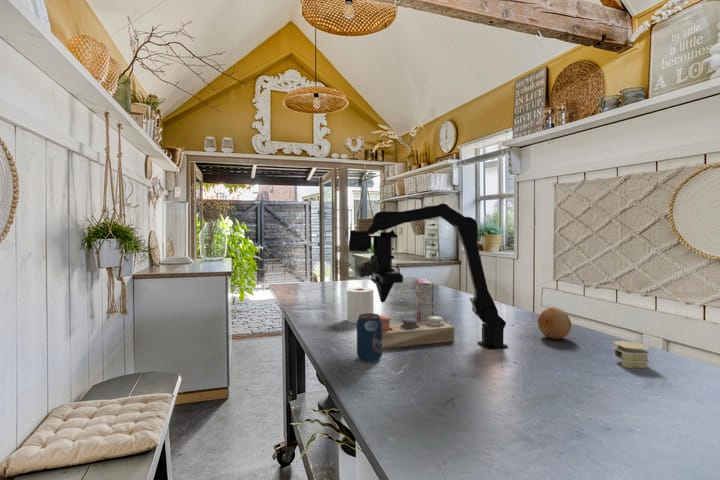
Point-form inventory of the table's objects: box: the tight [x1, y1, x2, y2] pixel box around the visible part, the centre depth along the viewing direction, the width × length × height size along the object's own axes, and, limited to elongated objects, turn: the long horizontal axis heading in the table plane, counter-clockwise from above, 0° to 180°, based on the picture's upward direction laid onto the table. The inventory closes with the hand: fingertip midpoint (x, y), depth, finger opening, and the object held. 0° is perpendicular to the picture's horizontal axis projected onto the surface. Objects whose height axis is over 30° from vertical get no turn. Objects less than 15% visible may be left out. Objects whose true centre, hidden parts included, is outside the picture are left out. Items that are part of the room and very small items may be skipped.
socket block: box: [382, 320, 455, 350], centre depth 124 cm, size 10×26×4 cm, turn 107°
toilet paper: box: [346, 287, 374, 324], centre depth 151 cm, size 10×10×12 cm
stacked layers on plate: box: [612, 340, 651, 369], centre depth 101 cm, size 10×9×6 cm
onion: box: [537, 306, 572, 340], centre depth 125 cm, size 10×10×10 cm
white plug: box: [428, 315, 443, 326], centre depth 127 cm, size 5×5×6 cm
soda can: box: [356, 313, 383, 363], centre depth 108 cm, size 7×7×12 cm
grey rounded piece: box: [401, 317, 417, 329], centre depth 124 cm, size 5×5×6 cm
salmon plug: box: [379, 315, 392, 331], centre depth 122 cm, size 5×5×6 cm
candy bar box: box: [415, 278, 434, 321], centre depth 142 cm, size 11×5×16 cm, turn 179°
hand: (382, 302), depth 121 cm, fingers closed
